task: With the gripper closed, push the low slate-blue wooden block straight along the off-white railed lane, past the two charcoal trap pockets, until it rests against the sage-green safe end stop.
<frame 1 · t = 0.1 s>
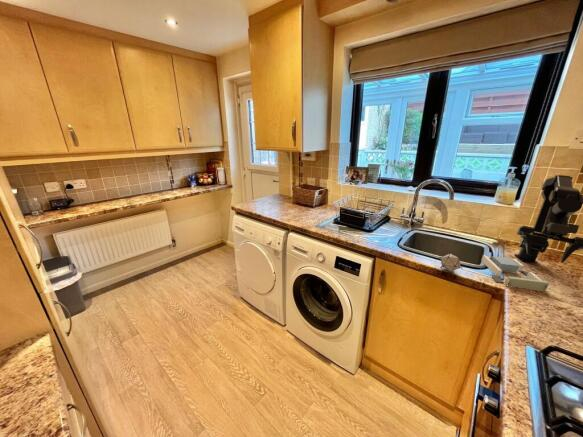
hand: (544, 257, 89), 15 cm above the worktop, tool tilted 35°, fingers open, 9 cm apart
safe end: (526, 283, 95), on the worktop
slate block: (502, 268, 109), on the worktop
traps: (509, 274, 104), on the worktop
trap lane: (509, 274, 104), on the worktop
game die: (447, 270, 107), on the worktop
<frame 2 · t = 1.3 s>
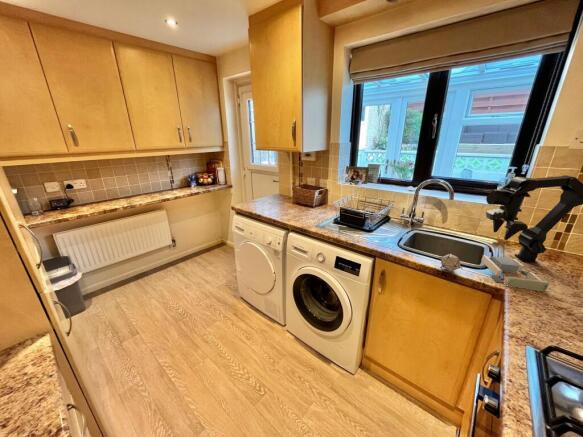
hand: (499, 235, 113), 12 cm above the worktop, tool pointing down, fingers open, 8 cm apart
nothing on the worktop moved.
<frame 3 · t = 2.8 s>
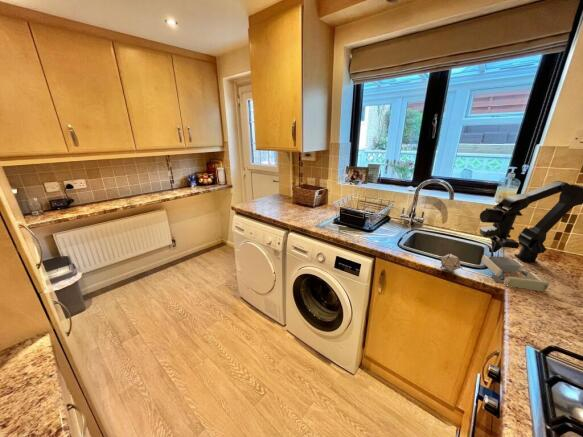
hand: (493, 252, 117), 3 cm above the worktop, tool pointing down, fingers closed
nothing on the worktop moved.
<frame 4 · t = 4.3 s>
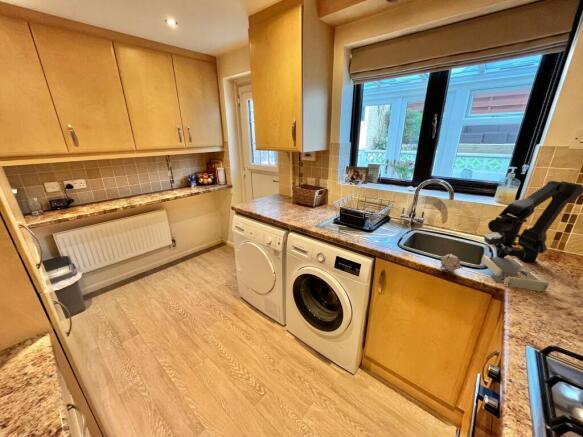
hand: (498, 259, 113), 2 cm above the worktop, tool pointing down, fingers closed
nothing on the worktop moved.
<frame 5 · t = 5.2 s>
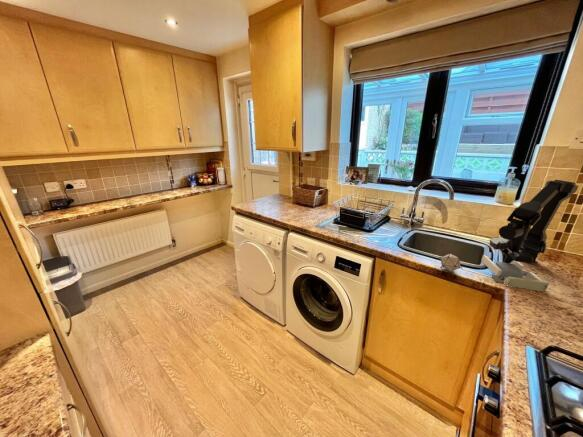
hand: (504, 265, 108), 2 cm above the worktop, tool pointing down, fingers closed
slate block: (506, 274, 105), on the worktop, touching gripper
everything else where it was.
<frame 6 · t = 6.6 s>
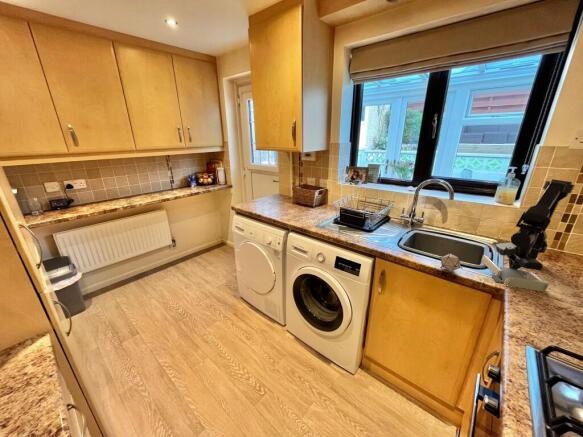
hand: (511, 271, 104), 2 cm above the worktop, tool pointing down, fingers closed
slate block: (510, 280, 101), on the worktop, touching safe end, trap lane
everything else where it was.
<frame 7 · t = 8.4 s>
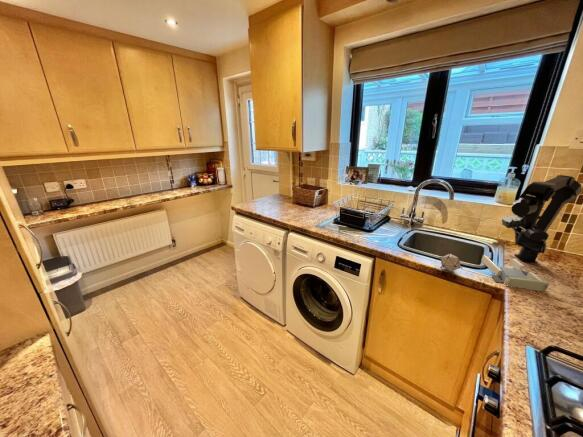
hand: (517, 244, 106), 12 cm above the worktop, tool pointing down, fingers closed
slate block: (510, 280, 101), on the worktop
everything else where it was.
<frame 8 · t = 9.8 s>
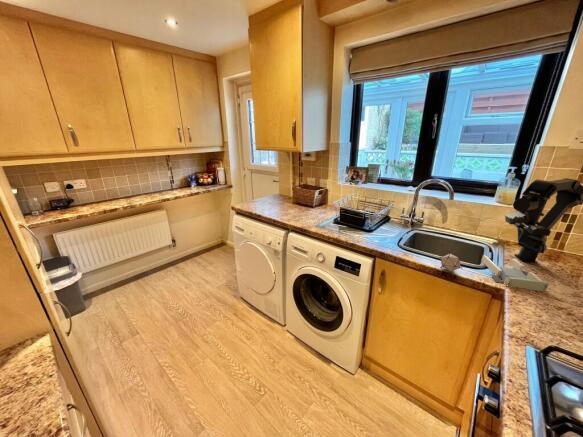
hand: (519, 240, 109), 12 cm above the worktop, tool pointing down, fingers closed
nothing on the worktop moved.
at the end: slate block 2.2 cm from the target spot, on the worktop; slate block tilted 0°; slate block moved 10.4 cm from its start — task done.
